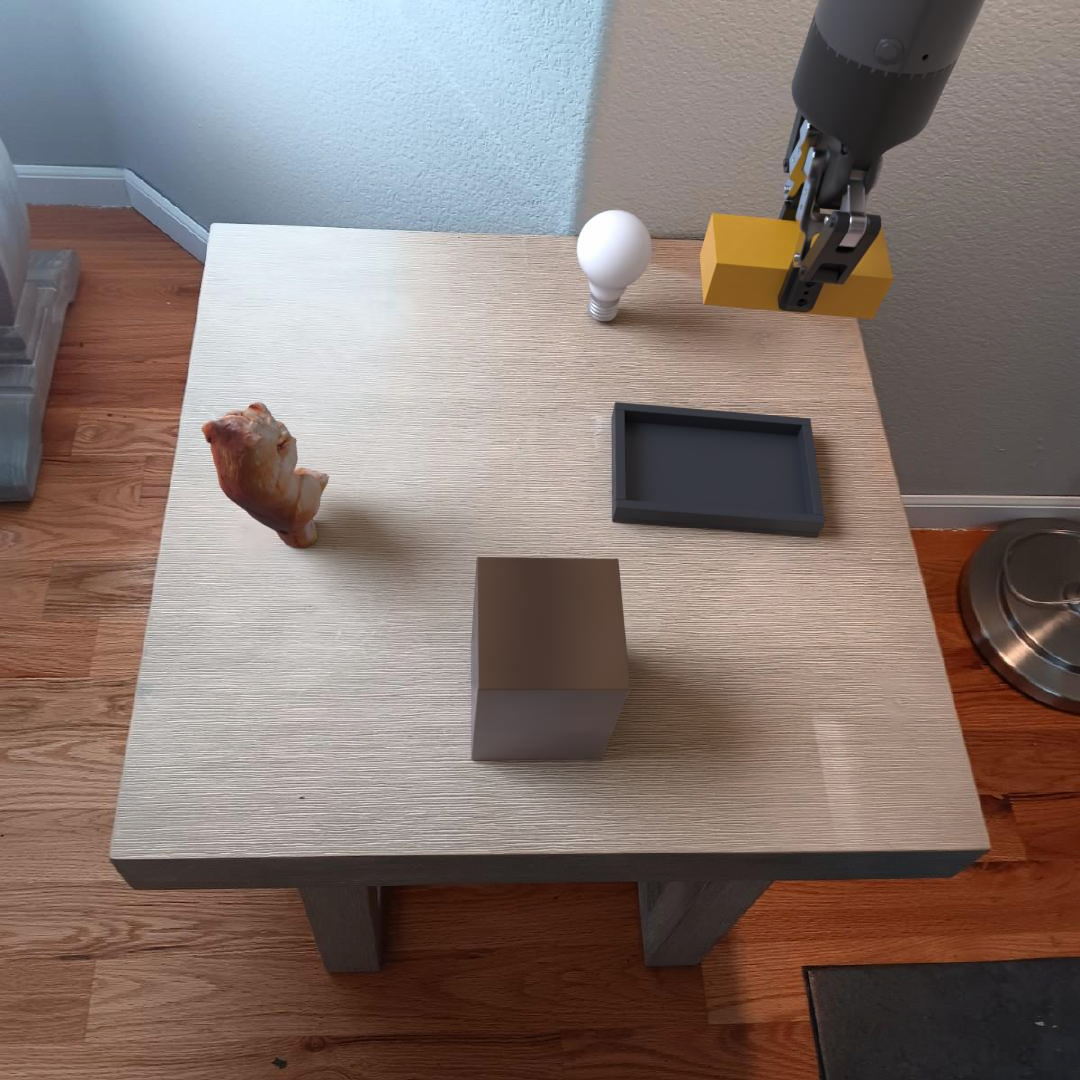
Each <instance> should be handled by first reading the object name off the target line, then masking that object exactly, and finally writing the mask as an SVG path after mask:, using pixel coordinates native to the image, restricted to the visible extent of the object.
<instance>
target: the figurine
mask: <svg viewBox="0 0 1080 1080" xmlns="http://www.w3.org/2000/svg"><path fill="white" fill-rule="evenodd" d="M200 430H201V432H202V433H203V436H204V439H205V441H206V443H208V444H210V453H211V455H212V461H213V465H214V467H215V469H216V475H217V479H218V480H217V481H218V485H219V487H220V489H221V491H222V492H223V494H224V495H225V496H226V497H227V498H228V499H229V500H230V501H231V502H232V503H234V504H235V505H236V506H238V507H239V508H241V510H244V511H245V512H246V513H247V514H248V515H249V516H250V517H251V518H252V519H254V520H255V521H257V522H258V523H259V524H261V525H263V526H265V527H267V528H269V529H271V530H273V531H274V532H275V533H276V534H277V536H278V537H279V539H280V540H281V541H282V542H283V544H285V545H286V546H287V547H291V548H295V549H302V548H306V547H310V546H312V545H313V544H314V543H315V542H316V540H318V533H317V526H316V524H315V520H314V518H315V517H316V515H317V514H318V513H319V509H320V506H321V499H322V497H323V496H322V495H323V492H324V491H325V490H326V488H327V486H328V484H329V479H330V475H328V474H327V473H326V472H319V471H318V470H314V469H311V468H306V467H297V464H298V459H299V455H298V447H297V442H298V441H297V438H296V437H294V436H292V434H291V432H290V431H289V429H288V427H287V426H286V425H285V423H284V422H282V421H280V420H276V418H275V417H274V416H273V415H272V412H271V411H270V410H269V409H268V407H267V405H266V404H264V403H263V402H261V401H255V402H252V403H250V404H249V406H248V407H247V408H246V409H241V410H239V409H235V410H231V411H228V412H227V413H226V414H225V415H224V416H223V417H221V418H219V419H216V420H213V419H210V420H208V421H207V422H204V423H203V425H202V427H201V429H200Z"/></svg>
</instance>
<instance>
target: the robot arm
mask: <svg viewBox="0 0 1080 1080" xmlns="http://www.w3.org/2000/svg"><path fill="white" fill-rule="evenodd" d="M985 2H986V0H818V1H817V5H816V8H815V10H814V13H813V16H812V19H811V23H810V25H809V27H808V31H807V34H806V38H805V40H804V43H803V47H802V49H801V53H800V56H799V59H798V61H797V65H796V67H795V71H794V73H793V77H792V80H791V96H792V97H791V98H792V100H793V102H794V106H795V107H796V113H795V117H794V121H793V125H792V130H791V132H790V133H791V134H790V137H789V140H788V145H787V148H786V153H785V157H784V158H783V161H782V167H783V173H784V174H788V177H787V180H786V181H785V183H784V185H783V187H782V196H783V197H782V198H783V200H784V202H783V204H782V207H781V209H780V213H779V215H778V218H777V219H781V220H789V221H797V224H798V226H799V228H800V230H801V231H800V234H799V238H798V242H797V245H796V249H795V253H794V254H793V259H792V261H791V264H790V267H789V270H788V272H787V275H786V277H785V280H784V282H783V285H782V288H781V290H780V293H779V295H778V306H779V309H781V310H783V311H793V312H792V313H794V312H809V311H811V310H812V309H813V307H814V305H815V303H816V300H817V298H818V296H819V294H820V291H821V289H822V287H823V284H824V283H829V284H840V285H843V284H844V283H845V282H846V280H847V279H848V277H849V276H850V274H851V273H852V272H853V270H854V269H855V267H856V266H857V264H858V263H859V262H860V260H861V259H862V257H863V256H864V255H865V253H866V252H867V250H868V249H869V247H870V246H871V245H872V243H873V242H874V240H875V239H876V238H877V236H878V234H879V232H880V229H882V217H881V215H880V214H875V213H874V214H873V213H867V209H866V207H867V206H866V205H867V203H868V199H869V196H870V193H871V191H872V190H873V189H874V188H875V187H876V186H877V185H878V182H879V178H880V175H881V172H882V168H883V164H884V154H885V153H887V152H888V151H890V150H891V149H893V148H894V147H895V148H896V147H897V146H899V145H902V144H904V143H906V142H909V141H911V140H913V139H914V138H916V137H917V136H918V135H919V134H921V133H922V132H923V130H924V129H925V128H926V127H927V125H928V123H929V121H930V119H931V117H932V115H933V113H934V111H935V109H936V107H937V104H938V103H939V100H940V98H941V96H942V93H943V92H944V89H945V88H946V85H947V83H948V81H949V79H950V77H951V75H952V73H953V70H954V69H955V66H956V64H957V62H958V59H959V58H960V56H961V53H962V51H963V49H964V46H965V45H966V42H967V40H968V39H969V36H970V34H971V33H972V29H973V28H974V26H975V23H976V21H977V19H978V17H979V15H980V13H981V11H982V9H983V6H984V4H985ZM821 210H832V212H831V213H823V212H821ZM818 233H820V234H819V235H818V237H817V238H816V240H815V242H814V243H813V245H812V247H811V248H810V246H811V242H812V239H813V236H814V235H816V234H818Z"/></svg>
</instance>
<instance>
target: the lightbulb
mask: <svg viewBox="0 0 1080 1080" xmlns="http://www.w3.org/2000/svg"><path fill="white" fill-rule="evenodd" d="M652 256H653V241H652V237H651V234H650V232H649V230H648V228H647V226H646V224H645V223H644V222H643V221H642V220H641V219H640V218H639V217H638V216H636V215H635V214H633V213H632V212H629V211H626V210H622V209H609V210H605V211H602V212H599V213H598V214H595V215H594V216H593V217H591V218H590V219H588V221H587V222H586V223H585V224H584V226H583V227H582V229H581V231H580V233H579V235H578V239H577V243H576V257H577V261H578V264H579V266H580V270H582V272H583V274H584V275H585V277H586V278H587V279H588V287H589V291H590V294H589V299H588V305H587V312H588V314H589V315H590V317H591V318H592V319H594V320H597V321H600V322H609V321H611V320H613V319H615V318H616V316H617V314H618V310H619V305H620V300H621V297H622V296H623V295H624V294H625V292H626V290H627V288H628V287H630V286H631V285H632V284H634V283H635V282H636V281H638V280H639V279H640V278H641V277H642V276H643V275H644V273H646V271H647V270H648V267H649V265H650V263H651V260H652Z"/></svg>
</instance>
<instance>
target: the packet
mask: <svg viewBox="0 0 1080 1080" xmlns="http://www.w3.org/2000/svg"><path fill="white" fill-rule="evenodd" d="M800 231H801V230H800V228H799V226H798V224H797V221H789V220H781V219H778V218H768V217H759V216H748V215H747V216H746V215H736V214H726V213H713V212H712V213H711V215H710V218H709V222H708V225H707V229H706V233H705V236H704V240H703V243H702V246H701V250H700V252H699V262H700V263H699V265H700V276H701V289H702V301H703V302H702V303H703V305H704V306H712V307H713V306H715V307H725V308H738V309H750V310H762V311H770V312H771V311H772V312H783V313H784V312H785V313H795V314H804V315H805V314H806V315H819V316H827V317H828V316H829V317H841V318H852V319H863V320H874V318H875V316H876V315H877V312H878V310H879V309H880V307H881V304H882V303H883V301H884V299H885V297H886V295H887V293H888V291H889V289H890V287H891V285H892V283H893V281H894V274H893V269H892V265H891V259H890V256H889V252H888V246H887V241H886V238H885V233H884V229H883V228H881V229H880V232H879V234H878V236H877V238H876V239H875V240H874V242H873V243H872V245H871V246H870V247H869V249H868V250H867V252H866V253H865V255H864V256H863V257H862V259H861V260H860V262H859V263H858V264H857V266H856V267H855V269H854V270H853V272H852V273H851V274H850V276H849V277H848V279H847V280H846V282H845V283H844V284H843V285H840V284H829V283H824V284H823V287H822V289H821V291H820V294H819V296H818V298H817V300H816V303H815V305H814V307H813V309H812V310H811V311H809V312H793V311H783V310H781V309H779V306H778V295H779V293H780V290H781V288H782V285H783V282H784V280H785V277H786V275H787V272H788V270H789V267H790V264H791V261H792V259H793V254H794V253H795V249H796V245H797V242H798V238H799V234H800ZM819 234H820V233H818V234H816V235H814V236H813V239H812V242H811V246H810V248H811V247H812V245H813V243H814V242H815V240H816V238H817V237H818V235H819Z"/></svg>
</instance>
